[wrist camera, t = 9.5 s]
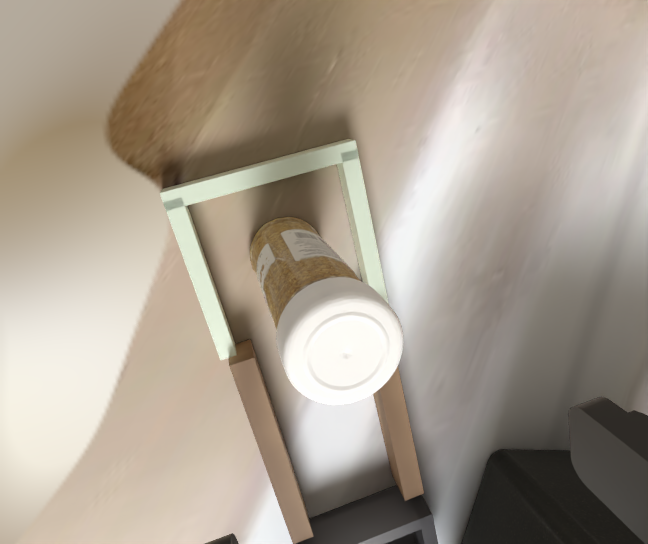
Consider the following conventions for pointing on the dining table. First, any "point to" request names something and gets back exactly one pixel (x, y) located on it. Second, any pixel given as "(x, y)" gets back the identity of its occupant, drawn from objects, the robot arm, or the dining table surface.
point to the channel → (277, 455)
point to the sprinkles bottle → (324, 315)
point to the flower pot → (540, 504)
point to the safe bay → (258, 175)
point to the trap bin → (376, 521)
